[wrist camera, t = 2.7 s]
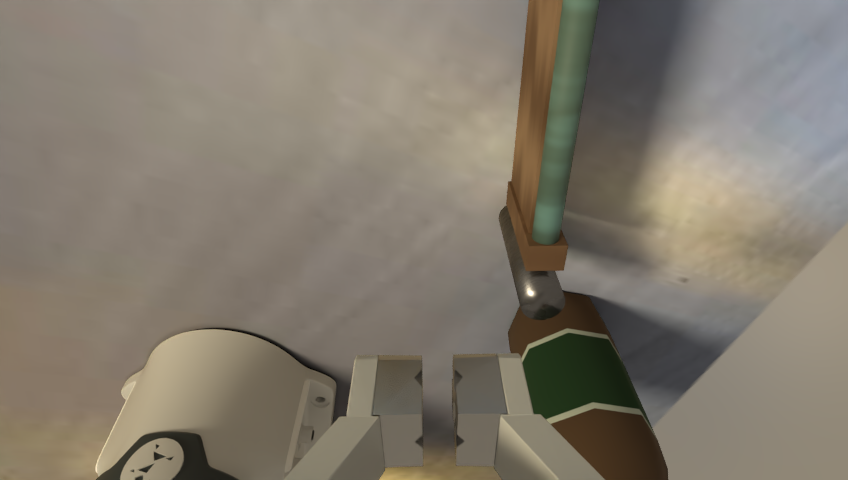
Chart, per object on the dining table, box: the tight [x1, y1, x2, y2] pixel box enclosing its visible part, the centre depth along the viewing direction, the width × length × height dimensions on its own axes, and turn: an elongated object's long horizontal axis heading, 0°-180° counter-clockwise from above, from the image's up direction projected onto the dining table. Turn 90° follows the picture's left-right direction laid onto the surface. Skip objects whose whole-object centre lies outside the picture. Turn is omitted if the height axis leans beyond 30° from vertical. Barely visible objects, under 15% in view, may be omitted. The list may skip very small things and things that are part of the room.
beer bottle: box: [508, 292, 668, 480], centre depth 29 cm, size 8×8×24 cm
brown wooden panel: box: [506, 0, 600, 271], centre depth 24 cm, size 17×2×7 cm, turn 1°
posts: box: [499, 206, 565, 320], centre depth 23 cm, size 24×3×10 cm, turn 1°
